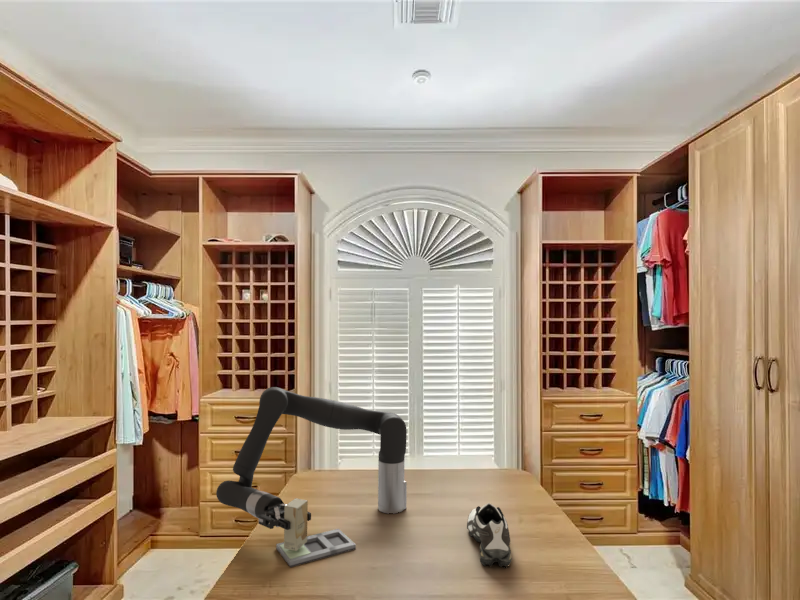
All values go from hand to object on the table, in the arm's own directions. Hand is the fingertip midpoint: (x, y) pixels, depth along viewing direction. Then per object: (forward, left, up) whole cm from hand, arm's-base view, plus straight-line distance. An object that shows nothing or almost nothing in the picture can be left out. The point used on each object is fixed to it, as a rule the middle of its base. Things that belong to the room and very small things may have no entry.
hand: (300, 521), depth 143 cm
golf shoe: (-52, +22, -11) cm, 58 cm away
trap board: (-6, -2, -10) cm, 12 cm away
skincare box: (0, -2, -7) cm, 8 cm away
